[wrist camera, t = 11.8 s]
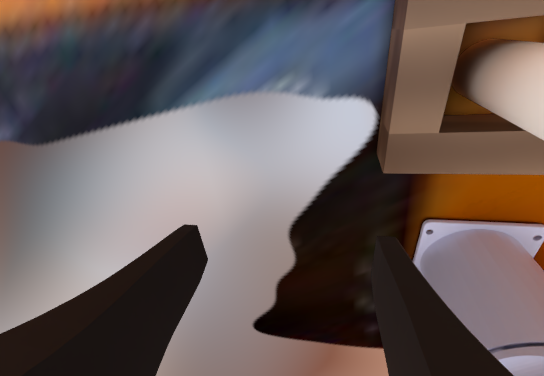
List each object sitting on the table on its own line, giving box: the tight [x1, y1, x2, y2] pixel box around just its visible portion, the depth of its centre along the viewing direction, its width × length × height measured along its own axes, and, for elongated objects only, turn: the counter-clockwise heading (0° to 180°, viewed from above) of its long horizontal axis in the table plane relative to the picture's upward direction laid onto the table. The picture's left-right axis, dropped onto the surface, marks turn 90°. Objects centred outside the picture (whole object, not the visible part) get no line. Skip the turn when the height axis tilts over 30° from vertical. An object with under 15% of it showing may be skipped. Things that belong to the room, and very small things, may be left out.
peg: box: [451, 39, 544, 140], centre depth 11 cm, size 3×3×9 cm
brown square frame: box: [377, 0, 544, 175], centre depth 13 cm, size 10×10×3 cm
